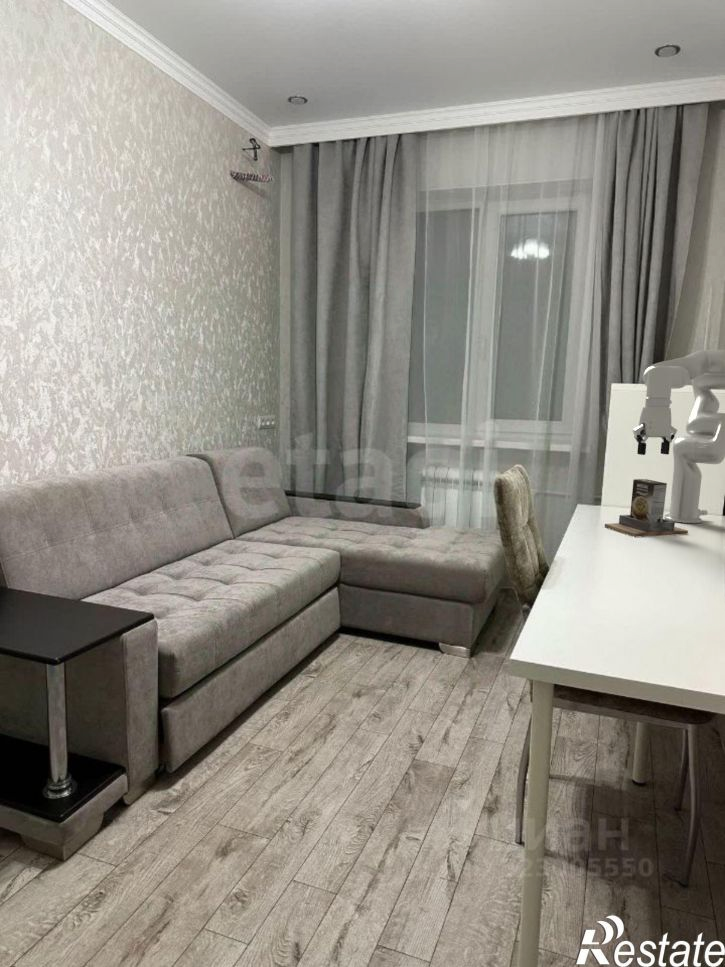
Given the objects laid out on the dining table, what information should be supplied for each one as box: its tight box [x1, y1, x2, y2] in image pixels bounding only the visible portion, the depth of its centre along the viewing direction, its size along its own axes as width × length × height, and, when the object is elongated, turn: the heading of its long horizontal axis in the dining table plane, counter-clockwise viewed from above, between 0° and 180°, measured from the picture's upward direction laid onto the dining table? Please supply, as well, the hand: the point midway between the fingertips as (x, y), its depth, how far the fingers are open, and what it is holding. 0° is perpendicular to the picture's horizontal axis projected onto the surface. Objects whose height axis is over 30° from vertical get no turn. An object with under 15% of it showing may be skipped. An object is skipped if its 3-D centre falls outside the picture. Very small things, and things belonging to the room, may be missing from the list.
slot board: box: [604, 514, 689, 538], centre depth 225 cm, size 22×15×4 cm
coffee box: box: [629, 478, 668, 523], centre depth 224 cm, size 9×6×16 cm
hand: (653, 454), depth 221 cm, fingers open, 9 cm apart
